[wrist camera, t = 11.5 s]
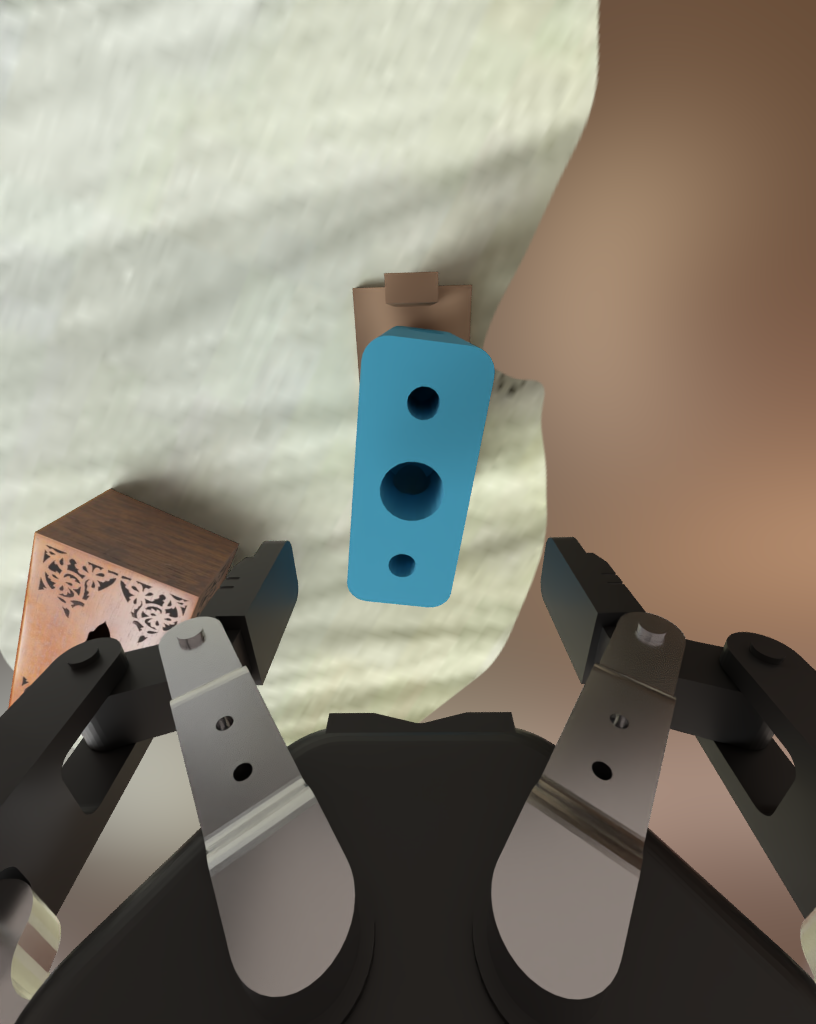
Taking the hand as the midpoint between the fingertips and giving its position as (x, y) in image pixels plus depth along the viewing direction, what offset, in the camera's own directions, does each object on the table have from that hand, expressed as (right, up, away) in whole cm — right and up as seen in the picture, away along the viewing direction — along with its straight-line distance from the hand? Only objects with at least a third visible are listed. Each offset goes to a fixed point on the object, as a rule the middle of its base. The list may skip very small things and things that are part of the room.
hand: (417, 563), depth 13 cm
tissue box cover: (-32, -9, +38) cm, 51 cm away
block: (0, +11, +23) cm, 25 cm away
